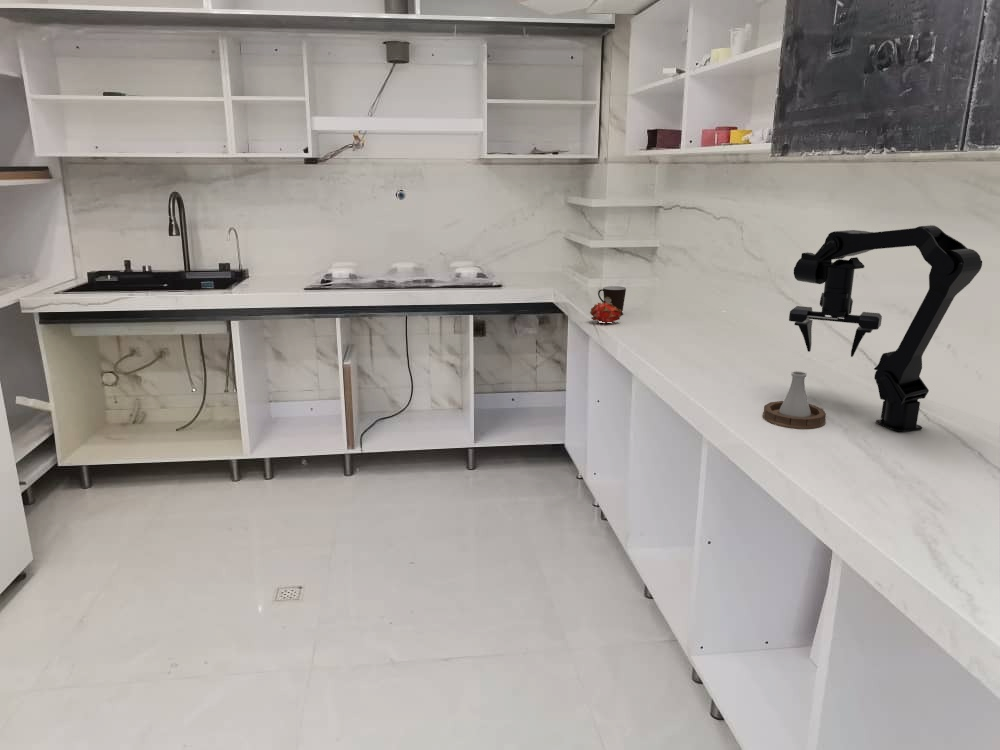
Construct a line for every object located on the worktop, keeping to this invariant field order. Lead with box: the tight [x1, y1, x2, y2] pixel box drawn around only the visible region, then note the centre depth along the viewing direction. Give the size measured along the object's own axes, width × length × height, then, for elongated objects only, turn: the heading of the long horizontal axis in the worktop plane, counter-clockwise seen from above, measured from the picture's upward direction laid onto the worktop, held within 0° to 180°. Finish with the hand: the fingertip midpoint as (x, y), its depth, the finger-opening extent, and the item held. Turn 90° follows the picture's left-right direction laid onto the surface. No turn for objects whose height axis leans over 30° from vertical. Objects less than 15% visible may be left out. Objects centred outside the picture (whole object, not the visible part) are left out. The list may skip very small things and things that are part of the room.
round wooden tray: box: [762, 400, 827, 430], centre depth 161 cm, size 13×13×2 cm
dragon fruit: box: [589, 302, 624, 323], centre depth 258 cm, size 8×8×12 cm
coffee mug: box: [597, 285, 627, 311], centre depth 276 cm, size 12×9×10 cm
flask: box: [778, 370, 811, 418], centre depth 160 cm, size 7×7×10 cm
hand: (830, 353), depth 168 cm, fingers open, 9 cm apart
